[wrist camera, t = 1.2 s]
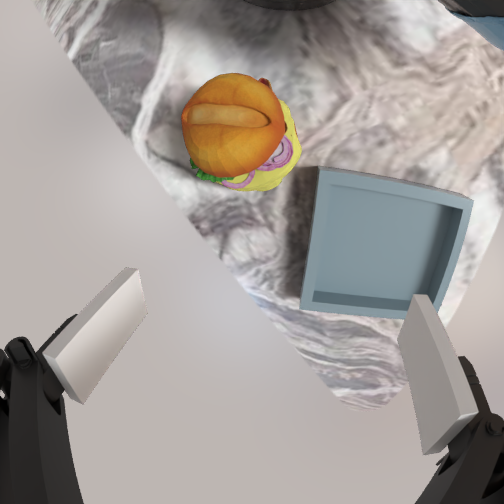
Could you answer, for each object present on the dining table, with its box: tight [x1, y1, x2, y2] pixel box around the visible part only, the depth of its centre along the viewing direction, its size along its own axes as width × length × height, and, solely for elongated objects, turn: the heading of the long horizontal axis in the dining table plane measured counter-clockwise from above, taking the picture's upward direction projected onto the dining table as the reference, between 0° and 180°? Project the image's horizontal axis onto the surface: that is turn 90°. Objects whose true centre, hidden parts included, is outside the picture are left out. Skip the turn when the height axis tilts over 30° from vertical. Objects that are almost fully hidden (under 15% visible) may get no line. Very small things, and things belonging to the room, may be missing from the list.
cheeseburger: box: [181, 73, 302, 191], centre depth 24 cm, size 10×11×10 cm
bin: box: [299, 166, 474, 319], centre depth 28 cm, size 15×17×3 cm
